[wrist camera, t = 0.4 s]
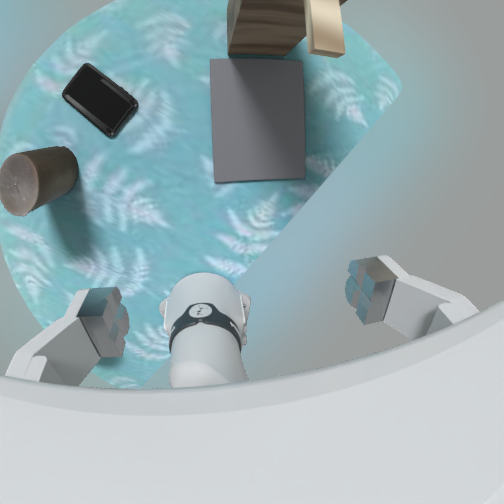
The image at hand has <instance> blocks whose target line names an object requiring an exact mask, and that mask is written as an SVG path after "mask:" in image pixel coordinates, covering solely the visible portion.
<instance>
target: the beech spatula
mask: <svg viewBox="0 0 504 504" xmlns="http://www.w3.org/2000/svg"><path fill="white" fill-rule="evenodd" d="M303 1H304V10H305V21H306V32H307V45H308V54H314V55H321V56H328V57H334V58H338V57H340V56H342V55H344V54H345V46H344V36H343V27H342V19H341V12H340V5H339V0H303Z"/></svg>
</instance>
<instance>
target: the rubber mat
mask: <svg viewBox="0 0 504 504" xmlns="http://www.w3.org/2000/svg"><path fill="white" fill-rule="evenodd" d="M210 84H211V117H212V142H213V162H214V181H215V182H226V181H242V180H263V179H294V178H305V110H304V81H303V61H292V60H278V59H253V58H232V59H210Z"/></svg>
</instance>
